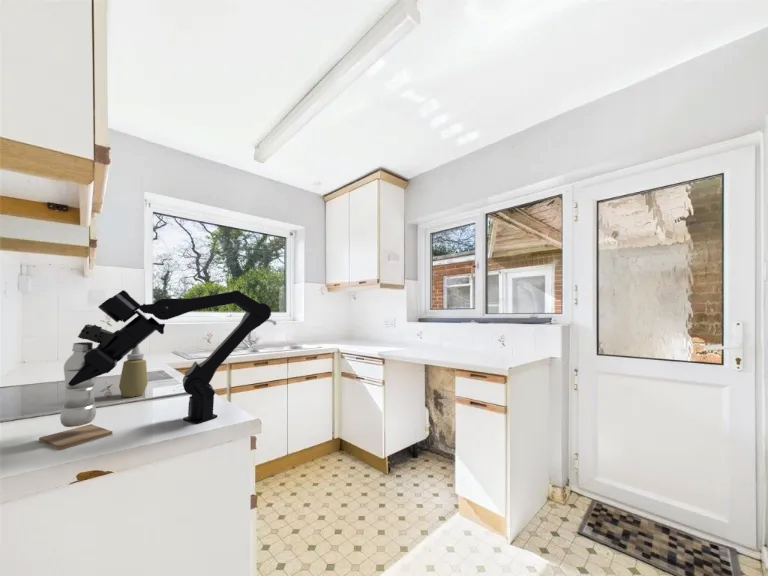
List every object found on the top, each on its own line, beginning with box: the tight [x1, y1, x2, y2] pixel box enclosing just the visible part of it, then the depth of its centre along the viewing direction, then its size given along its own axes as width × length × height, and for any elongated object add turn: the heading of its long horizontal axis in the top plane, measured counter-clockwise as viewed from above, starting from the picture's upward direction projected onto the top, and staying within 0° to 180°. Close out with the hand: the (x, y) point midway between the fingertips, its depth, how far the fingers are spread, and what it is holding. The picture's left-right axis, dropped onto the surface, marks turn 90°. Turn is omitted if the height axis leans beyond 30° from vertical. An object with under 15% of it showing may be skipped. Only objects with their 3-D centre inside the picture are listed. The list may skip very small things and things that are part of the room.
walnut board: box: [38, 423, 113, 451], centre depth 80 cm, size 10×10×1 cm
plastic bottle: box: [59, 341, 97, 428], centre depth 82 cm, size 6×7×20 cm
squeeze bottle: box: [118, 344, 148, 398], centre depth 117 cm, size 8×8×18 cm
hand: (73, 382), depth 81 cm, fingers closed on plastic bottle, 6 cm apart
